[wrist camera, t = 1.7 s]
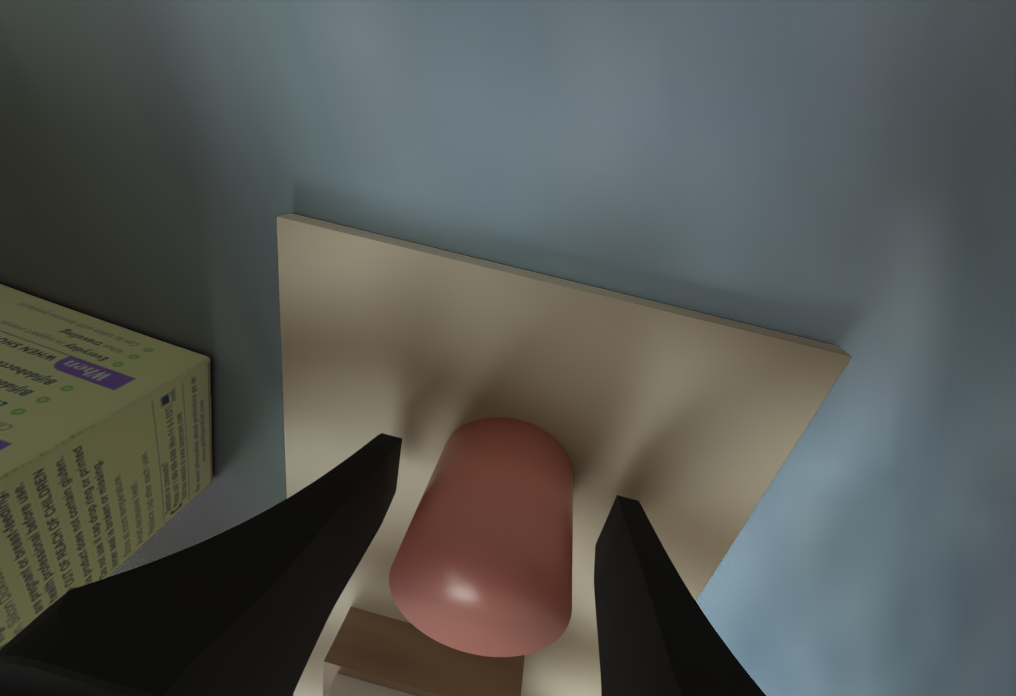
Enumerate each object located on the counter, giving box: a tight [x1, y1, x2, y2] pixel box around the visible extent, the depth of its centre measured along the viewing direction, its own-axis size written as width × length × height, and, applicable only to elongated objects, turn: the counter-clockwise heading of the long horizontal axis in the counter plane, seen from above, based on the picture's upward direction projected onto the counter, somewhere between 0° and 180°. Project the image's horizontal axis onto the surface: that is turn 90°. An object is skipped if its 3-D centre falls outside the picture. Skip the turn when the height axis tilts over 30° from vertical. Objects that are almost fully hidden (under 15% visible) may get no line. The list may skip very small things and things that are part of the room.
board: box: [277, 213, 852, 696], centre depth 16 cm, size 24×14×1 cm, turn 168°
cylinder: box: [389, 417, 573, 657], centre depth 11 cm, size 4×4×4 cm
